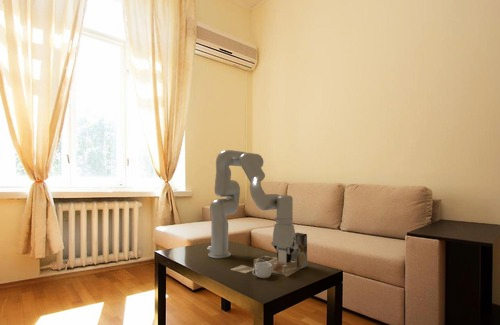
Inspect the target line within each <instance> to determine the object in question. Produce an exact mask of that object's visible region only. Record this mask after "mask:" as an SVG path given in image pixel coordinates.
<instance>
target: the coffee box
mask: <svg viewBox="0 0 500 325" xmlns="http://www.w3.org/2000/svg"><path fill="white" fill-rule="evenodd" d="M295 239H296V244H297V246H298V249H296V250H294V251H293V253H291V260H292V261H297V271H299V270H302V269H304V268H306V267H308V234H307V233H302V232H295ZM292 248H294V246H292Z"/></svg>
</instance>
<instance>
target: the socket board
mask: <svg viewBox="0 0 500 325" xmlns="http://www.w3.org/2000/svg"><path fill="white" fill-rule="evenodd" d="M259 262H267V263H271V264H272V273H271V274H277V275H282V276H284V277H287V278H288V277H289V276H291V275H293V274H294V273H296V272H297V271H298V270H297V261H292V260H291V262H290V264H288V265H284V264H283V263H278V258H277V257H276V256H275V257H274V256H270V255H265V254H264V255H262V256H260V257H257V258H255V259H253V268H255V264H256V263H259Z"/></svg>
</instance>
